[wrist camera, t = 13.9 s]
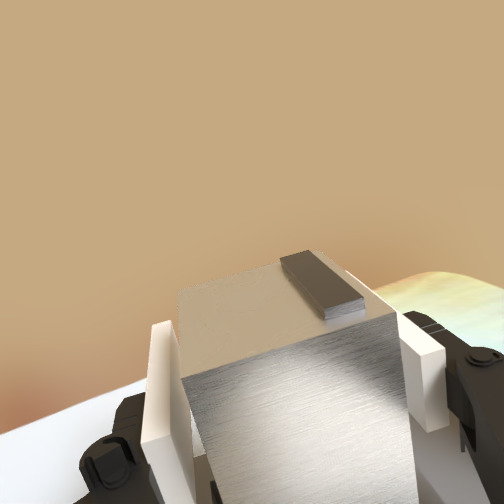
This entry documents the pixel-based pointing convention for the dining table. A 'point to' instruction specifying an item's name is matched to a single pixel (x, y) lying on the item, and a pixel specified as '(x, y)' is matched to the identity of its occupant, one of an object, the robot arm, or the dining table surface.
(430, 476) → the pallet
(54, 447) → the dining table surface
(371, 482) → the billet
